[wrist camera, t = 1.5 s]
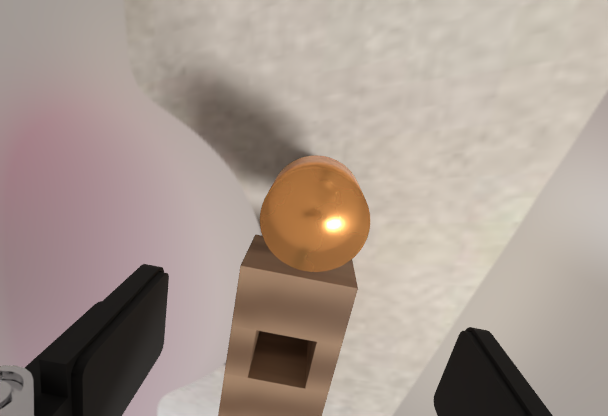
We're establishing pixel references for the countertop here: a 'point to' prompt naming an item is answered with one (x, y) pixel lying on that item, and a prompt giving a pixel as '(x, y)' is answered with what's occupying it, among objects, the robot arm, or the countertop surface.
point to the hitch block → (284, 336)
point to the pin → (315, 215)
